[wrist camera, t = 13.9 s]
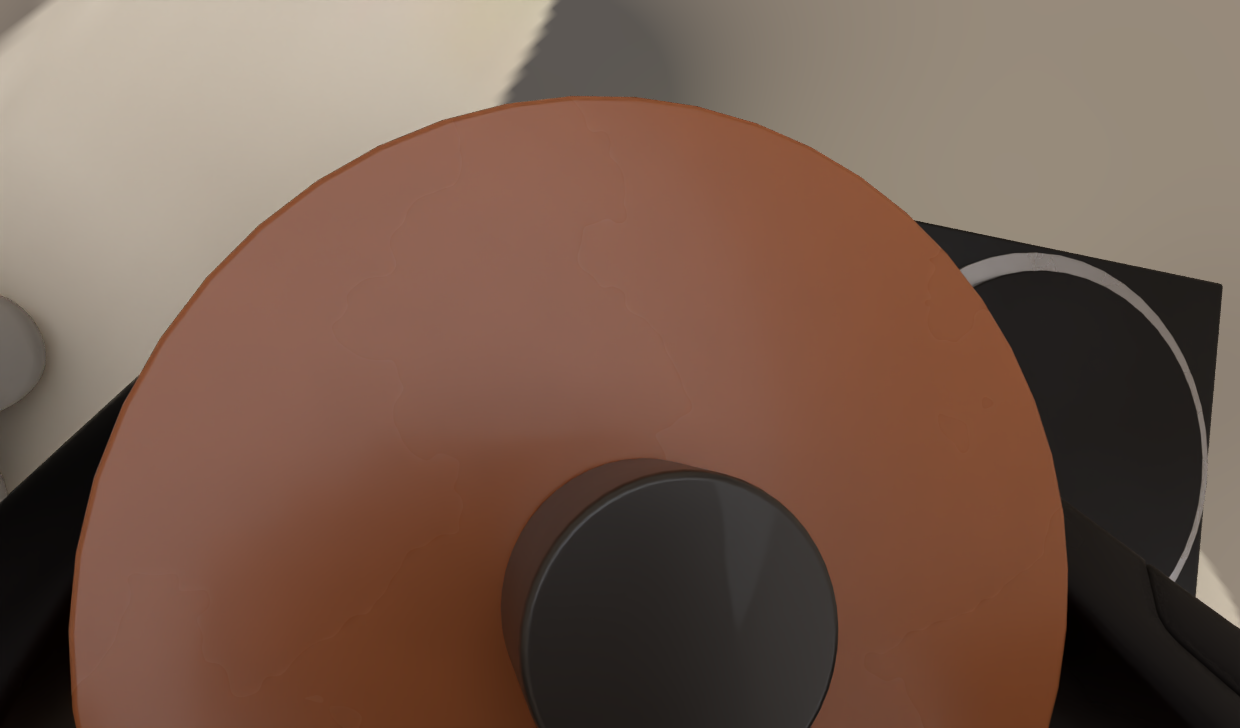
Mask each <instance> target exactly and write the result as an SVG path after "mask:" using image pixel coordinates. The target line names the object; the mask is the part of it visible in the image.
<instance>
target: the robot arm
mask: <svg viewBox="0 0 1240 728" xmlns="http://www.w3.org/2000/svg"><path fill="white" fill-rule="evenodd" d="M138 377H139V376H138ZM138 377H136V378H135V379H134V380H133V381H132V382H131V383H130V384H129V385H128V386H127V387H126V388H124V389H123V390H122V391H121V392H120V393H119V394H118V395H117V396H116V397H115V398H114V399H112V400H111V401H110V402H109V403H108V404H107V405H106V406H105V407H104V408H103V409H102V410H100V411H99V412H98V413H97V414H96V415H95V416H94V417H93V418H92V419H91V420H89V421H88V422H87V423H86V424H85V425H84V426H83V427H82V428H81V429H80V430H79V431H77V432H76V433H75V434H74V435H73V436H72V437H71V438H70V439H69V440H68V441H67V442H65V443H64V444H63V445H62V446H61V447H60V448H59V449H58V450H57V451H56V452H55V453H53V454H52V455H51V456H50V457H49V458H48V459H47V460H46V461H45V462H44V463H43V464H41V465H40V466H39V467H38V468H37V469H36V470H35V471H34V472H33V473H32V474H31V475H29V476H28V477H27V478H26V479H25V480H24V481H23V482H22V483H21V484H20V485H19V486H17V487H16V488H15V489H14V490H13V491H12V492H11V493H10V494H9V495H8V496H7V497H5V498H4V499H3V500H2V501H1V502H0V728H76V725H75V720H74V715H73V710H72V694H71V674H70V655H69V635H68V629H69V618H70V608H71V597H72V586H73V576H74V565H75V555H76V550H77V545H78V541H79V537H80V533H81V529H82V525H83V521H84V516H85V512H86V508H87V504H88V500H89V496H90V492H91V487H92V483H93V479H94V476H95V473H96V471H97V468H98V466H99V463H100V461H101V458H102V456H103V453H104V451H105V448H106V446H107V443H108V440H109V438H110V435H111V433H112V430H113V428H114V425H115V423H116V420H117V418H118V415H119V413H120V410H121V408H122V405H123V403H124V401H125V400H126V398H127V396H128V394H129V393H130V391H131V389H132V387H133V386H134V384H135V382H136V380H137V378H138ZM1061 503H1062V508H1063V514H1064V526H1065V538H1066V550H1067V562H1068V595H1067V630H1066V637H1065V644H1064V651H1063V659H1062V666H1061V673H1060V681H1059V688H1058V692H1057V696H1056V700H1055V704H1054V708H1053V712H1052V716H1051V720H1050V724H1049V728H1240V629H1239V628H1238V627H1236V626H1235V625H1233V624H1232V623H1231V622H1229V621H1228V620H1226V619H1225V618H1224V617H1222V616H1221V615H1219V614H1218V613H1217V612H1215V611H1214V610H1212V609H1211V608H1210V607H1208V606H1207V605H1206V604H1204V603H1203V602H1201V601H1200V600H1199V599H1197V598H1196V597H1194V596H1193V595H1192V594H1190V593H1189V592H1188V591H1186V590H1185V589H1183V588H1182V587H1181V586H1179V585H1178V584H1177V583H1175V582H1174V581H1173V580H1171V579H1170V578H1169V577H1167V576H1166V575H1165V574H1163V573H1162V572H1161V571H1159V570H1158V569H1157V568H1155V567H1154V566H1153V565H1150V564H1147V565H1146V563H1145V560H1144V559H1143V558H1142V557H1140V556H1139V555H1138V554H1136V553H1135V552H1134V551H1132V550H1131V549H1130V548H1128V547H1127V546H1126V545H1124V544H1123V543H1122V542H1120V541H1119V540H1118V539H1116V538H1115V537H1113V536H1112V535H1111V534H1109V533H1108V532H1107V531H1105V530H1104V529H1103V528H1101V527H1100V526H1099V525H1097V524H1096V523H1095V522H1093V521H1092V520H1091V519H1089V518H1088V517H1087V516H1085V515H1084V514H1083V513H1081V512H1080V511H1079V510H1077V509H1076V508H1075V507H1073V506H1072V505H1071V504H1069V503H1068V502H1067V501H1065V500H1064V499H1062V498H1061Z"/></svg>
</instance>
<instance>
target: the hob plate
mask: <svg viewBox="0 0 1240 728" xmlns="http://www.w3.org/2000/svg"><path fill="white" fill-rule="evenodd" d="M959 270H960V271H961V272H962V274H963V275H964V276H965V278H966V279H967V280H968V282H969V283H970V284H971V285H972V287H973V288H974V289H975V291H976V292H977V293H978V294H979V296H980V297H981V298H982V300H983V301H984V303H985V305H986V306H987V308H988V310H989V311H990V313H991V315H992V317H993V318H994V320H995V322H996V323H997V325H998V327H999V328H1000V330H1001V332H1002V333H1003V335H1004V337H1005V338H1006V340H1007V342H1008V343H1009V345H1010V347H1011V348H1012V351H1013V353H1014V355H1015V357H1016V359H1017V362H1018V364H1019V366H1020V368H1021V371H1022V373H1023V375H1024V377H1025V380H1026V382H1027V384H1028V386H1029V388H1030V391H1031V393H1032V395H1033V397H1034V400H1035V402H1036V406H1037V409H1038V412H1039V415H1040V418H1041V421H1042V425H1043V428H1044V431H1045V434H1046V437H1047V440H1048V443H1049V447H1050V450H1051V453H1052V457H1053V462H1054V467H1055V472H1056V477H1057V482H1058V487H1059V492H1060V497H1061V498H1062V499H1064V500H1065V501H1067V502H1068V503H1069V504H1071V505H1072V506H1073V507H1075V508H1076V509H1077V510H1079V511H1080V512H1081V513H1083V514H1084V515H1085V516H1087V517H1088V518H1089V519H1091V520H1092V521H1093V522H1095V523H1096V524H1097V525H1099V526H1100V527H1101V528H1103V529H1104V530H1105V531H1107V532H1108V533H1109V534H1111V535H1112V536H1113V537H1115V538H1116V539H1118V540H1119V541H1120V542H1122V543H1123V544H1124V545H1126V546H1127V547H1128V548H1130V549H1131V550H1132V551H1134V552H1135V553H1136V554H1138V555H1139V556H1140V557H1142V558H1143V559H1144V560H1145V563H1146V565H1147V564H1150V565H1153V566H1154V567H1155V568H1157V569H1158V570H1159V571H1161V572H1162V573H1163V574H1165V575H1166V576H1167V577H1169V578H1170V579H1171V580H1173V581H1174V582H1175V581H1176V579H1177V577H1178V575H1179V574H1180V572H1181V570H1182V568H1183V566H1184V564H1185V562H1186V560H1187V558H1188V555H1189V553H1190V550H1191V547H1192V545H1193V542H1194V539H1195V537H1196V534H1197V531H1198V527H1199V523H1200V519H1201V515H1202V511H1203V506H1204V498H1205V492H1206V485H1207V463H1208V454H1207V439H1206V429H1205V423H1204V418H1203V412H1202V406H1201V403H1200V399H1199V396H1198V392H1197V389H1196V386H1195V382H1194V380H1193V377H1192V375H1191V372H1190V370H1189V368H1188V365H1187V363H1186V360H1185V358H1184V356H1183V354H1182V353H1181V351H1180V349H1179V347H1178V345H1177V344H1176V342H1175V340H1174V338H1173V336H1172V335H1171V334H1170V332H1169V331H1168V329H1167V328H1166V327H1165V325H1164V324H1163V323H1162V321H1161V320H1160V318H1159V317H1158V316H1157V315H1156V314H1155V313H1154V312H1153V310H1152V309H1151V308H1150V307H1149V306H1148V305H1147V304H1146V303H1145V302H1144V301H1143V300H1142V299H1141V298H1140V297H1139V296H1138V295H1136V294H1135V293H1134V292H1133V291H1132V290H1130V289H1129V288H1128V287H1127V286H1126V285H1125V284H1123V283H1122V282H1120V281H1118V280H1117V279H1115V278H1114V277H1112V276H1110V275H1109V274H1107V273H1106V272H1104V271H1102V270H1100V269H1098V268H1095V267H1093V266H1091V265H1089V264H1086V263H1084V262H1082V261H1078V260H1075V259H1071V258H1068V257H1064V256H1061V255H1053V254H1046V253H1038V252H1034V253H1011V254H1006V255H1000V256H994V257H989V258H986V259H983V260H980V261H977V262H974V263H971V264H968V265H965V266H963V267H961V268H959Z"/></svg>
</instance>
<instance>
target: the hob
mask: <svg viewBox="0 0 1240 728" xmlns="http://www.w3.org/2000/svg"><path fill="white" fill-rule="evenodd" d="M914 221H915V220H914ZM915 222H916V223H917V224H918V225H919V226H920V227H921V228H922V229H923V230H924V231H925V232H926V233H927V234H928V235H929V236H930V237H931V238H932V239H933V240H934V241H935V242H936V243H937V244H938V245H939V246H940V247H941V248H942V249H943V250H944V251H945V252H946V253H947V254H948V256H949V257H950V258H951V260H952V261H953V262H954V263H955V265H956V266H957V267H958V269H959V268H961V267H963V266H965V265H968V264H971V263H974V262H977V261H980V260H983V259H986V258H989V257H994V256H1000V255H1006V254H1011V253H1034V252H1038V253H1046V254H1053V255H1061V256H1064V257H1068V258H1071V259H1075V260H1078V261H1082V262H1084V263H1086V264H1089V265H1091V266H1093V267H1095V268H1098V269H1100V270H1102V271H1104V272H1106V273H1107V274H1109V275H1110V276H1112V277H1114V278H1115V279H1117V280H1118V281H1120V282H1122V283H1123V284H1125V285H1126V286H1127V287H1128V288H1129V289H1130V290H1132V291H1133V292H1134V293H1135V294H1136V295H1138V296H1139V297H1140V298H1141V299H1142V300H1143V301H1144V302H1145V303H1146V304H1147V305H1148V306H1149V307H1150V308H1151V309H1152V310H1153V312H1154V313H1155V314H1156V315H1157V316H1158V317H1159V318H1160V320H1161V321H1162V323H1163V324H1164V325H1165V327H1166V328H1167V329H1168V331H1169V332H1170V334H1171V335H1172V336H1173V338H1174V340H1175V342H1176V344H1177V345H1178V347H1179V349H1180V351H1181V353H1182V354H1183V356H1184V358H1185V360H1186V363H1187V365H1188V368H1189V370H1190V372H1191V375H1192V377H1193V380H1194V382H1195V386H1196V389H1197V392H1198V396H1199V399H1200V403H1201V406H1202V412H1203V418H1204V423H1205V429H1206V439H1207V454H1208V448H1209V436H1210V426H1211V413H1212V403H1213V391H1214V380H1215V368H1216V356H1217V344H1218V334H1219V323H1220V311H1221V299H1222V285H1221V284H1218V283H1214V282H1209V281H1204V280H1199V279H1194V278H1189V277H1185V276H1180V275H1175V274H1170V273H1166V272H1161V271H1156V270H1151V269H1146V268H1142V267H1137V266H1131V265H1127V264H1122V263H1117V262H1113V261H1108V260H1102V259H1098V258H1093V257H1088V256H1084V255H1079V254H1073V253H1069V252H1064V251H1059V250H1055V249H1050V248H1045V247H1040V246H1035V245H1030V244H1025V243H1020V242H1016V241H1011V240H1006V239H1002V238H997V237H992V236H987V235H982V234H977V233H973V232H968V231H963V230H958V229H953V228H948V227H943V226H939V225H934V224H929V223H924V222H920V221H915ZM1202 517H1203V511H1202V515H1201V519H1200V523H1199V527H1198V531H1197V534H1196V537H1195V539H1194V542H1193V545H1192V547H1191V550H1190V553H1189V555H1188V558H1187V560H1186V562H1185V564H1184V566H1183V568H1182V570H1181V572H1180V574H1179V575H1178V577H1177V579H1176V581H1175V583H1177V584H1178V585H1179V586H1181V587H1182V588H1183V589H1185V590H1186V591H1188V592H1189V593H1190V594H1192V595H1193V596H1194V597H1196V586H1197V574H1198V563H1199V551H1200V539H1201V528H1202Z"/></svg>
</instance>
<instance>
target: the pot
mask: <svg viewBox="0 0 1240 728" xmlns="http://www.w3.org/2000/svg"><path fill="white" fill-rule="evenodd" d="M1067 595H1068V562H1067V550H1066V538H1065V526H1064V514H1063V508H1062V503H1061V497H1060V492H1059V487H1058V482H1057V477H1056V472H1055V467H1054V462H1053V457H1052V453H1051V450H1050V447H1049V443H1048V440H1047V437H1046V434H1045V431H1044V428H1043V425H1042V421H1041V418H1040V415H1039V412H1038V409H1037V406H1036V402H1035V400H1034V397H1033V395H1032V393H1031V391H1030V388H1029V386H1028V384H1027V382H1026V380H1025V377H1024V375H1023V373H1022V371H1021V368H1020V366H1019V364H1018V362H1017V359H1016V357H1015V355H1014V353H1013V351H1012V348H1011V347H1010V345H1009V343H1008V342H1007V340H1006V338H1005V337H1004V335H1003V333H1002V332H1001V330H1000V328H999V327H998V325H997V323H996V322H995V320H994V318H993V317H992V315H991V313H990V311H989V310H988V308H987V306H986V305H985V303H984V301H983V300H982V298H981V297H980V296H979V294H978V293H977V292H976V291H975V289H974V288H973V287H972V285H971V284H970V283H969V282H968V280H967V279H966V278H965V276H964V275H963V274H962V272H961V271H960V270H959V269H958V267H957V266H956V265H955V263H954V262H953V261H952V260H951V258H950V257H949V256H948V254H947V253H946V252H945V251H944V250H943V249H942V248H941V247H940V246H939V245H938V244H937V243H936V242H935V241H934V240H933V239H932V238H931V237H930V236H929V235H928V234H927V233H926V232H925V231H924V230H923V229H922V228H921V227H920V226H919V225H918V224H917V223H916V222H915V221H914V220H913V219H912V218H911V217H910V216H909V215H908V214H907V213H906V212H905V211H903V210H902V209H901V208H899V207H898V206H897V205H896V204H895V203H893V202H892V201H891V200H889V199H888V198H887V197H886V196H884V195H883V194H882V193H880V192H879V191H878V190H877V189H875V188H874V187H873V186H871V185H870V184H869V183H868V182H866V181H865V180H864V179H863V178H861V177H860V176H858V175H856V174H855V173H853V172H852V171H850V170H848V169H846V168H845V167H843V166H842V165H840V164H838V163H836V162H835V161H833V160H831V159H830V158H828V157H826V156H825V155H823V154H821V153H820V152H818V151H816V150H815V149H813V148H811V147H809V146H807V145H805V144H802V143H800V142H798V141H795V140H793V139H791V138H789V137H786V136H784V135H782V134H779V133H777V132H775V131H773V130H770V129H768V128H766V127H763V126H761V125H759V124H756V123H753V122H750V121H746V120H743V119H739V118H736V117H732V116H729V115H725V114H722V113H718V112H715V111H711V110H708V109H704V108H701V107H698V106H691V105H685V104H678V103H672V102H665V101H658V100H651V99H645V98H637V97H599V96H568V97H559V98H551V99H542V100H534V101H525V102H517V103H508V104H504V105H500V106H496V107H492V108H488V109H484V110H480V111H476V112H472V113H468V114H464V115H461V116H457V117H453V118H449V119H445V120H441V121H439V122H436V123H434V124H431V125H429V126H427V127H424V128H422V129H419V130H417V131H414V132H412V133H409V134H407V135H404V136H402V137H399V138H397V139H394V140H392V141H389V142H387V143H384V144H382V145H379V146H377V147H376V148H374V149H372V150H370V151H369V152H367V153H365V154H363V155H362V156H360V157H358V158H356V159H354V160H353V161H351V162H349V163H347V164H346V165H344V166H342V167H340V168H339V169H337V170H335V171H333V172H332V173H330V174H328V175H326V176H325V177H323V178H321V179H319V180H318V181H316V182H315V183H313V184H312V185H311V186H309V187H308V188H307V189H306V190H304V191H303V192H302V193H300V194H299V195H298V196H296V197H295V198H294V199H292V200H291V201H290V202H288V203H287V204H286V205H285V206H283V207H282V208H281V209H279V210H278V211H277V212H275V213H274V214H273V215H271V216H270V217H269V218H267V219H266V220H265V221H264V222H262V223H261V224H260V225H258V226H257V227H256V228H255V229H254V230H253V231H252V232H251V233H250V234H249V235H248V236H247V237H246V238H245V239H244V240H243V241H242V242H241V243H240V244H239V245H238V246H237V247H236V248H235V249H234V250H233V251H232V252H231V253H230V254H229V255H228V256H227V257H226V258H225V259H224V260H223V261H222V262H221V263H220V264H219V265H218V266H217V267H216V268H215V269H214V270H213V271H212V272H211V273H210V274H209V275H208V276H207V277H206V279H205V280H204V281H203V283H202V284H201V285H200V287H199V288H198V289H197V290H196V292H195V293H194V294H193V296H192V297H191V298H190V300H189V301H188V302H187V304H186V305H185V306H184V308H183V309H182V310H181V312H180V313H179V314H178V315H177V317H176V318H175V319H174V321H173V322H172V323H171V325H170V326H169V327H168V329H167V330H166V331H165V333H164V334H163V335H162V336H161V338H160V340H159V341H158V343H157V345H156V347H155V348H154V350H153V352H152V354H151V355H150V357H149V359H148V361H147V363H146V364H145V366H144V368H143V370H142V371H141V373H140V375H139V377H138V378H137V380H136V382H135V384H134V386H133V387H132V389H131V391H130V393H129V394H128V396H127V398H126V400H125V401H124V403H123V405H122V408H121V410H120V413H119V415H118V418H117V420H116V423H115V425H114V428H113V430H112V433H111V435H110V438H109V440H108V443H107V446H106V448H105V451H104V453H103V456H102V458H101V461H100V463H99V466H98V468H97V471H96V473H95V476H94V479H93V483H92V487H91V492H90V496H89V500H88V504H87V508H86V512H85V516H84V521H83V525H82V529H81V533H80V537H79V541H78V545H77V550H76V555H75V565H74V576H73V586H72V597H71V608H70V618H69V629H68V635H69V655H70V674H71V694H72V710H73V715H74V720H75V725H76V728H1049V724H1050V720H1051V716H1052V712H1053V708H1054V704H1055V700H1056V696H1057V692H1058V688H1059V681H1060V673H1061V666H1062V659H1063V651H1064V644H1065V637H1066V630H1067Z"/></svg>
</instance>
